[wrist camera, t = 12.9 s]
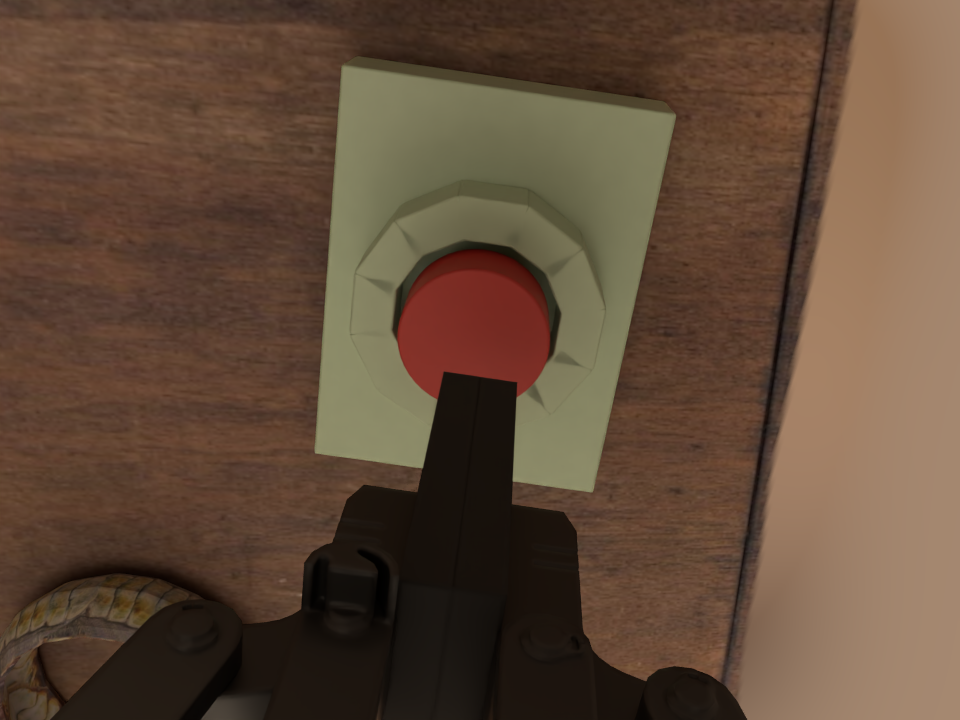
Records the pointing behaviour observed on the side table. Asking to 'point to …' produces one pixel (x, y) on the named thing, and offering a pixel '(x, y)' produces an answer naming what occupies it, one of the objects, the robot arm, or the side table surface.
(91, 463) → the side table surface
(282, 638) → the robot arm
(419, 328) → the button
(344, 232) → the box
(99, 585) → the decorative ring
